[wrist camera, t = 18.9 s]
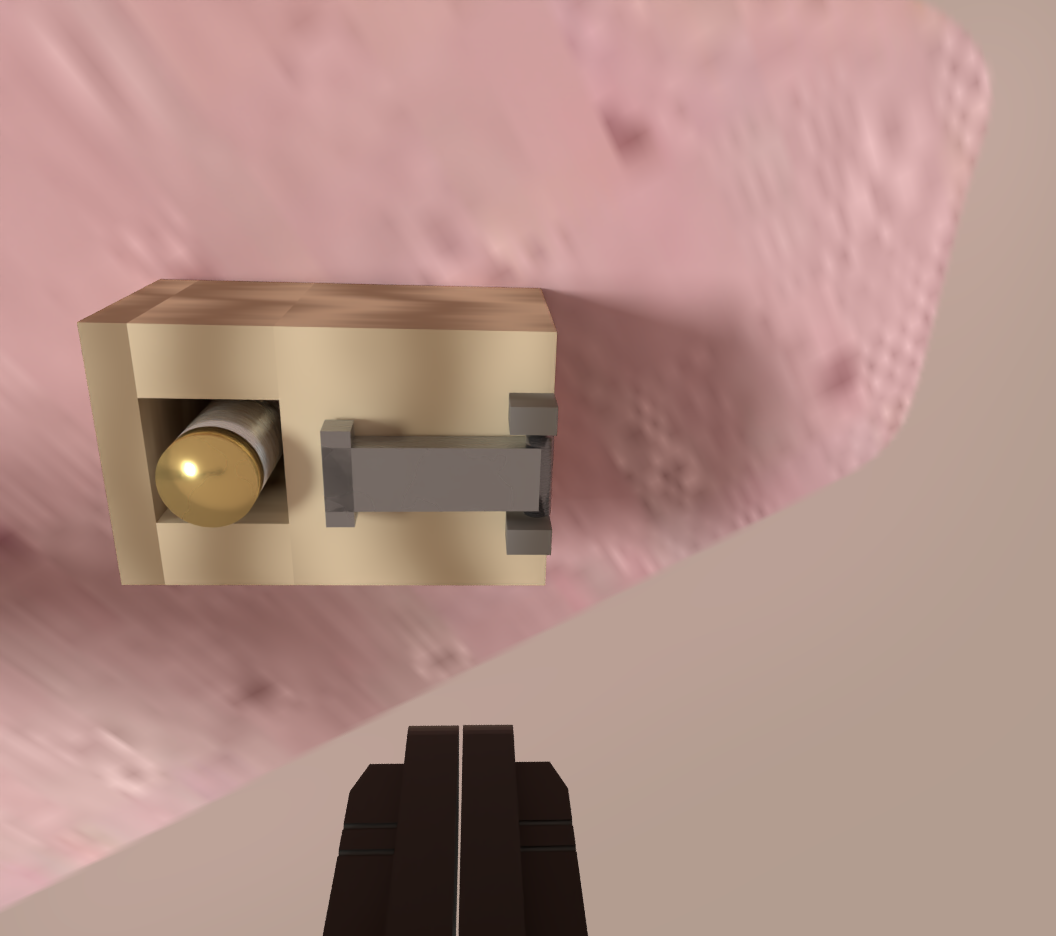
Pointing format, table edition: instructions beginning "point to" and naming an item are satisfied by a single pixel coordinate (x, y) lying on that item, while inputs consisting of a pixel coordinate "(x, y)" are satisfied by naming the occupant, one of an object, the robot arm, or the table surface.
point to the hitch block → (318, 422)
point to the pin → (221, 461)
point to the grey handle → (432, 473)
